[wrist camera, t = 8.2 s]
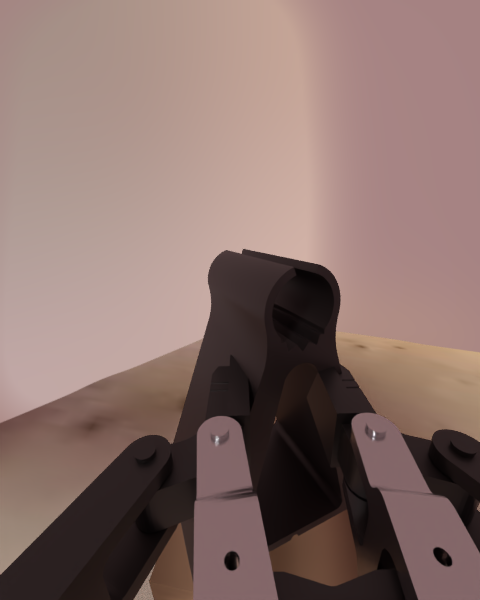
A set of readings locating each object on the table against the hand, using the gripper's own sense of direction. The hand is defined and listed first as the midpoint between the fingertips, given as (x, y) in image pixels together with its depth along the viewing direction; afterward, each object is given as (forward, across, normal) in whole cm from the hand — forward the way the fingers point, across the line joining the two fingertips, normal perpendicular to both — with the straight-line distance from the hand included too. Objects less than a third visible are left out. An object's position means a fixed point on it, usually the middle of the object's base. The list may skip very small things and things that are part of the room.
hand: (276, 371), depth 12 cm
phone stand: (0, 0, +7) cm, 7 cm away
